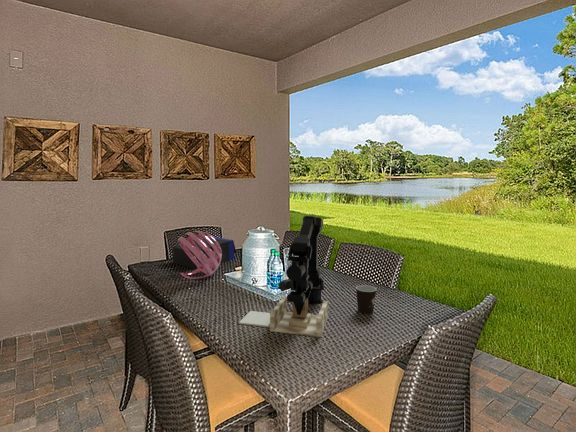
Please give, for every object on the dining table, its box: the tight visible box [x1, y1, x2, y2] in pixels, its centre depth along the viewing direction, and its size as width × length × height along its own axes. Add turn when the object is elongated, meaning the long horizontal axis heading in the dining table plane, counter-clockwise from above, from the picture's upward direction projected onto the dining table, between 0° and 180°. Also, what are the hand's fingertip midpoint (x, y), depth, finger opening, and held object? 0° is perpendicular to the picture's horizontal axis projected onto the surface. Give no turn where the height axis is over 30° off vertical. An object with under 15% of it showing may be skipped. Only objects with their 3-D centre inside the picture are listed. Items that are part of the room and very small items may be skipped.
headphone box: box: [172, 236, 237, 270], centre depth 236 cm, size 25×35×14 cm
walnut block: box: [292, 298, 309, 318], centre depth 135 cm, size 5×5×6 cm
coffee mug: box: [355, 284, 377, 315], centre depth 149 cm, size 12×9×10 cm
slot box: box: [269, 296, 329, 338], centre depth 136 cm, size 18×19×7 cm
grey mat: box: [238, 310, 271, 328], centre depth 140 cm, size 12×12×1 cm
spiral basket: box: [177, 230, 222, 280], centre depth 199 cm, size 28×28×27 cm
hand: (300, 312), depth 135 cm, fingers closed on walnut block, 5 cm apart
